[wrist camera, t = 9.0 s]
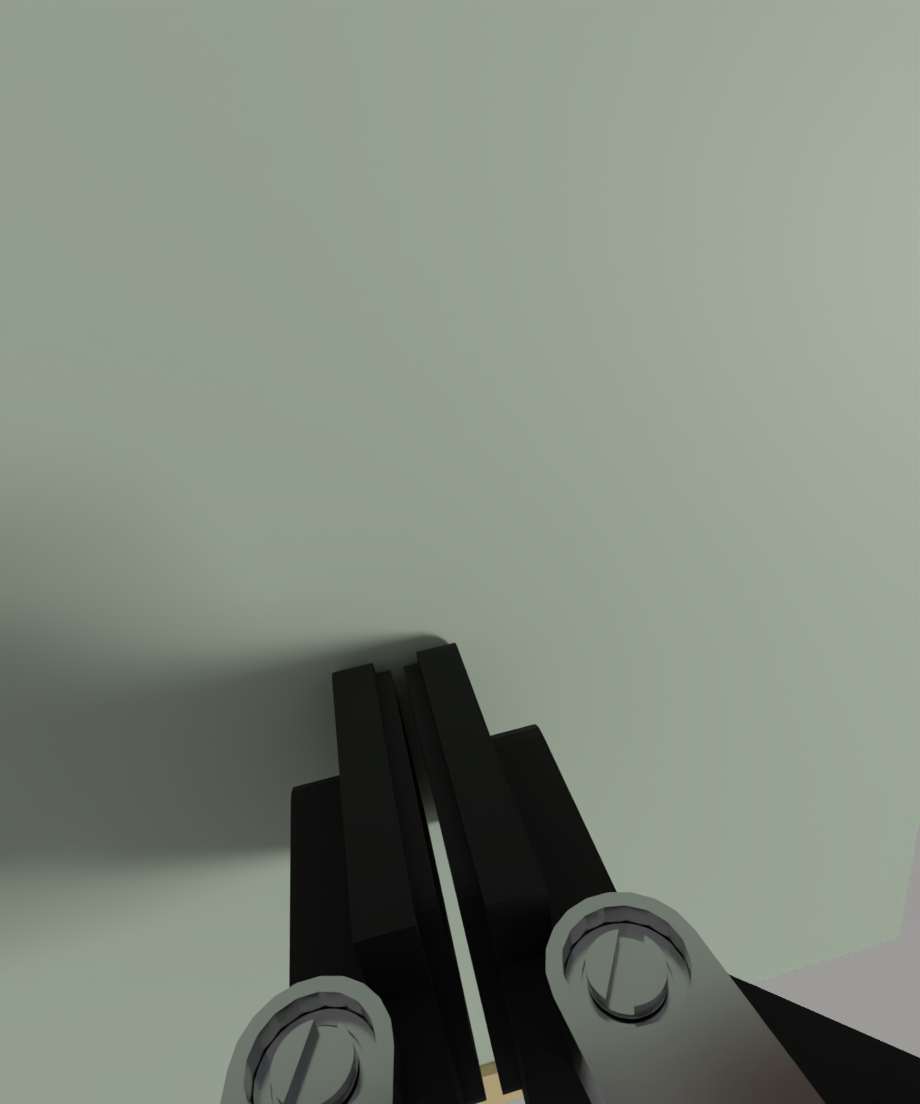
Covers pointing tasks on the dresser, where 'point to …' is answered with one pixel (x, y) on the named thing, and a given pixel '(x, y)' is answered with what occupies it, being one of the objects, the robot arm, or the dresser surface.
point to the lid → (445, 471)
